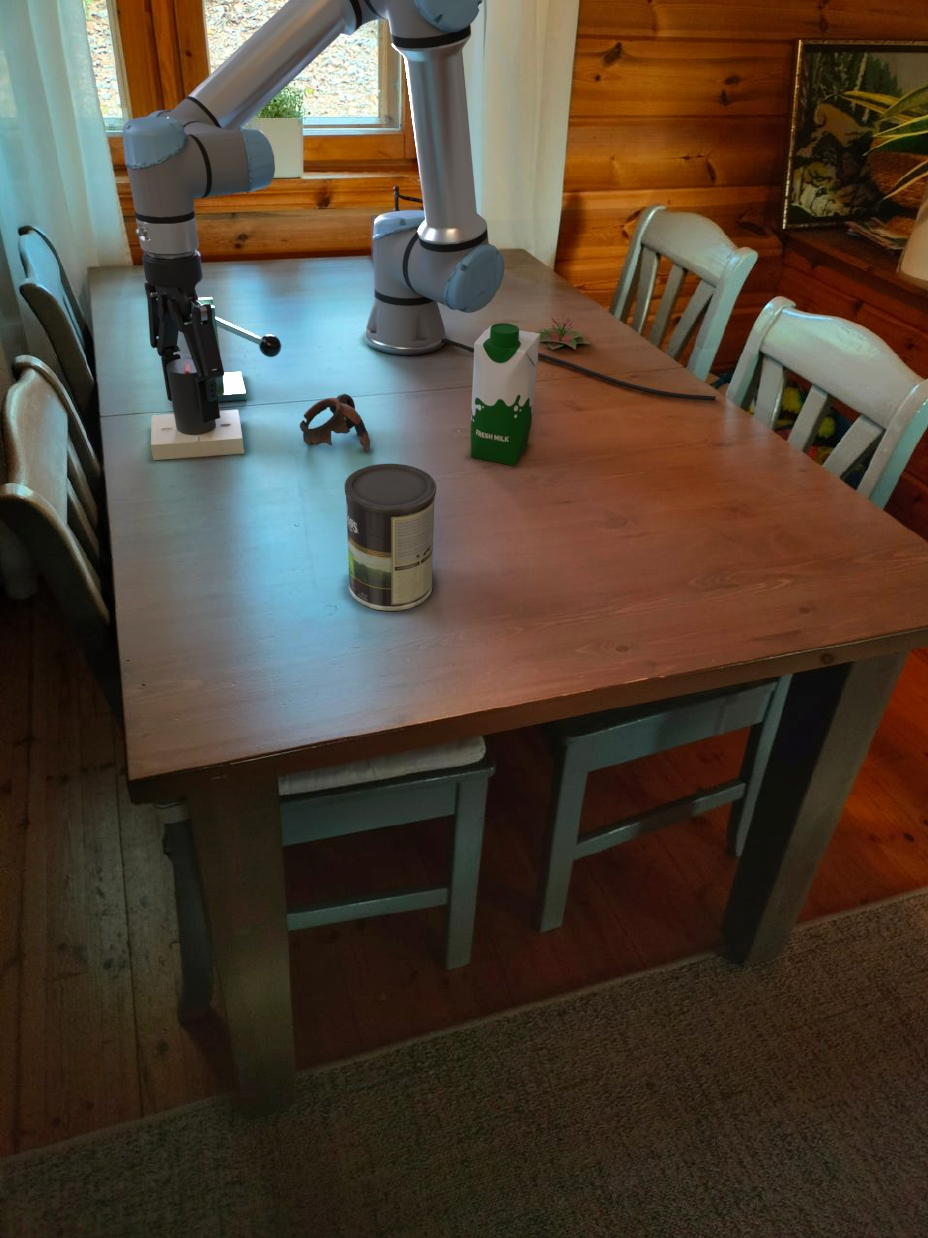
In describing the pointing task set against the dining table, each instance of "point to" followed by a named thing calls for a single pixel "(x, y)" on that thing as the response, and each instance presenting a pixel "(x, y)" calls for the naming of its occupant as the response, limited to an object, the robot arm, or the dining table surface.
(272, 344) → the tap lever
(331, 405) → the broken clay pot
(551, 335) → the lily flower
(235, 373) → the grey metal lever stand
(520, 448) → the milk carton
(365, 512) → the coffee can
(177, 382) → the tap knob
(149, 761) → the dining table surface
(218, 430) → the panel
